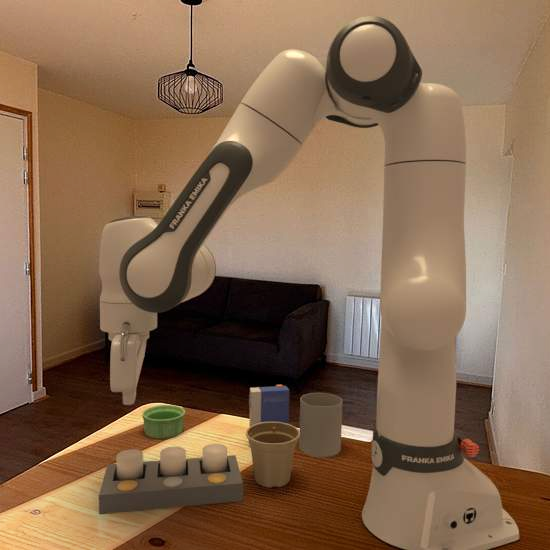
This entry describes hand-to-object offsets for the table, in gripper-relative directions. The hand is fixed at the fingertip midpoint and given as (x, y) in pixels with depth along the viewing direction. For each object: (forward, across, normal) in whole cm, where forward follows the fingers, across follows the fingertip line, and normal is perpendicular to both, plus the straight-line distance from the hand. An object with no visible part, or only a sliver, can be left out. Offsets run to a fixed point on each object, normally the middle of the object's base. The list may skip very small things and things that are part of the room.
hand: (129, 401), depth 80 cm
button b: (+13, 0, -7) cm, 14 cm away
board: (+15, -2, -7) cm, 17 cm away
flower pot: (+15, 0, -24) cm, 29 cm away
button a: (+12, 0, -14) cm, 19 cm away
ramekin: (+15, +24, -5) cm, 29 cm away
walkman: (+15, +14, -26) cm, 33 cm away
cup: (+15, +11, -36) cm, 41 cm away
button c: (+13, 0, 0) cm, 13 cm away
